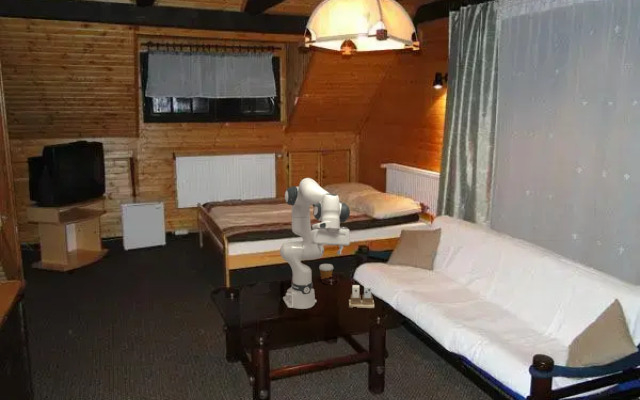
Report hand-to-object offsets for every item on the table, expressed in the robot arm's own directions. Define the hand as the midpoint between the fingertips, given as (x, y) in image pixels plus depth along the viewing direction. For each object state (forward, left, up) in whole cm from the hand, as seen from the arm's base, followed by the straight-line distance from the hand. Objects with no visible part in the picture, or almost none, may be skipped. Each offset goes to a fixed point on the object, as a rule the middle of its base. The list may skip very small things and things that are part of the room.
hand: (330, 254), depth 258 cm
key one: (-38, +39, -44) cm, 70 cm away
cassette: (-81, +23, -48) cm, 97 cm away
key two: (-35, +45, -44) cm, 72 cm away
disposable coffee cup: (-79, +41, -48) cm, 101 cm away
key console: (-37, +42, -48) cm, 74 cm away
